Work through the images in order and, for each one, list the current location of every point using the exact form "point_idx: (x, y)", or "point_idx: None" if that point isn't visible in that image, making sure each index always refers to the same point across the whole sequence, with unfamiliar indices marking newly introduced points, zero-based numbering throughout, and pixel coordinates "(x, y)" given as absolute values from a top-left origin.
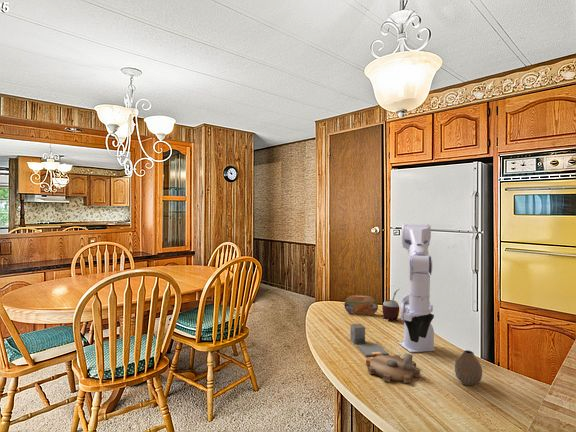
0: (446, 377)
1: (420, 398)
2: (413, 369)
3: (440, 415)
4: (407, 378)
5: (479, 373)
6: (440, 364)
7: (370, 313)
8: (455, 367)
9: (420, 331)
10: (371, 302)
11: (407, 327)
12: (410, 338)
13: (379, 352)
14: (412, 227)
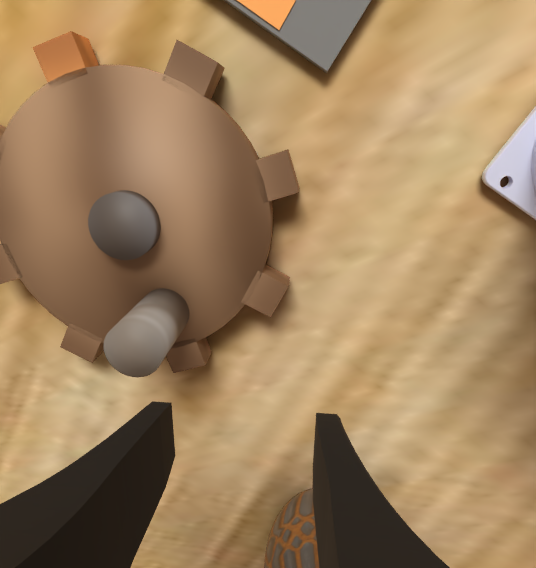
0: (300, 440)
1: (36, 420)
2: (181, 338)
3: (6, 498)
4: (75, 351)
5: None
6: (433, 377)
7: None
8: (288, 534)
9: (317, 469)
10: None
11: (43, 484)
12: (141, 413)
13: (282, 8)
14: None
